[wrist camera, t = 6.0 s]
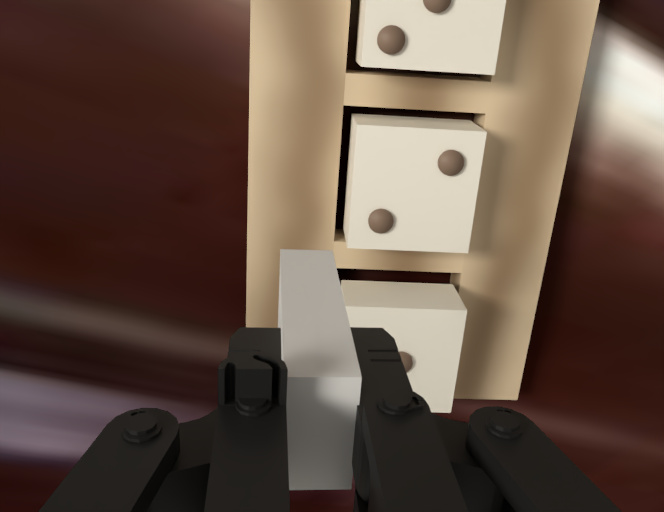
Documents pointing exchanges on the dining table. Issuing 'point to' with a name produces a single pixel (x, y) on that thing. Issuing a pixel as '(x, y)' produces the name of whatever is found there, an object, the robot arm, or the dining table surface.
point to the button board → (420, 94)
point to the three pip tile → (430, 35)
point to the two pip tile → (412, 183)
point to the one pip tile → (415, 330)
